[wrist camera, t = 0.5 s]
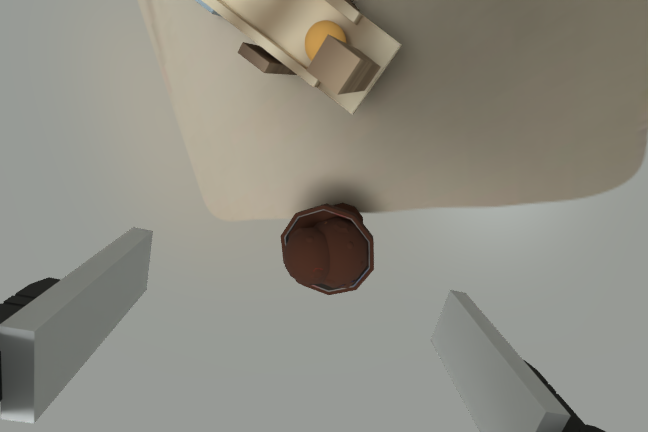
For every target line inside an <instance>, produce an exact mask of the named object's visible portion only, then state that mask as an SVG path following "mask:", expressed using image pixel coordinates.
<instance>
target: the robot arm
mask: <svg viewBox="0 0 648 432" xmlns="http://www.w3.org/2000/svg"><path fill="white" fill-rule="evenodd" d="M152 233H153V231H150V230H145V229H140V228H135V227H133V228H131V229H130V230H129V231H127V232H126V233H125V234H123V235H122V236H121V237H119V238H118V239H116V240H115V241H114V242H112V243H111V244H110V245H108V246H107V247H105V248H104V249H103V250H101V251H100V252H99V253H97V254H96V255H94V256H93V257H92V258H90V259H89V260H88V261H86V262H85V263H83V264H82V265H81V266H79V267H78V268H77V269H75V270H74V271H72V272H71V273H70V274H68V275H67V276H66V277H64V278H63V279H62V280H60V279H54V278H46V279H43V280H41V281H38V282H35V283H32V284H30V285H28V286H27V287H25V288H24V289H22V290H20V291H19V292H17V293H16V294H15V296H11V297H10V298H8V299H7V300H5V301H4V303H3V304H0V402H1V419H4V420H12V421H20V422H27V423H35V422H36V421H37V419H38V418H39V417H40V416H41V415H42V413H43V412H44V411H45V410H46V409H47V407H48V406H49V405H50V403H52V401H53V400H54V399H55V398H56V397H57V396H58V394H59V393H60V392H61V391H62V390H63V388H64V387H65V386H66V385H67V383H68V382H69V381H70V380H71V379H72V378H73V377H74V375H75V374H76V373H77V372H78V371H79V369H80V368H81V367H82V366H83V365H84V363H85V362H86V361H87V360H88V359H89V357H90V356H91V355H92V354H93V353H94V352H95V350H96V349H97V348H98V347H99V346H100V344H101V343H102V342H103V341H104V340H105V338H106V337H107V336H108V335H109V334H110V332H111V331H112V330H113V329H114V328H115V327H116V325H117V324H118V323H119V322H120V321H121V319H122V318H123V317H124V316H125V315H126V313H127V312H128V311H129V310H130V308H131V307H132V306H133V305H134V304H135V303H136V302H137V300H138V299H139V298H140V297H141V296H142V294H143V293H144V292H145V291H146V289H147V280H148V270H149V261H150V251H151V242H152ZM431 342H432V344H433V345H434V347H435V349H436V351H437V353H438V355H439V357H440V359H441V360H442V362H443V364H444V366H445V368H446V370H447V372H448V373H449V375H450V377H451V379H452V381H453V383H454V384H455V386H456V388H457V390H458V392H459V394H460V396H461V398H462V399H463V401H464V403H465V405H466V407H467V409H468V411H469V412H470V414H471V416H472V418H473V420H474V422H475V424H476V425H477V427H478V429H479V431H480V432H605V431H603V430H601V429H599V428H597V427H595V426H590V425H585V424H584V423H583V422H582V421H581V419H580V418H579V417H578V416H577V415H576V414H575V413H574V411H573V410H572V409H571V408H570V407H569V406H568V405H567V404H566V402H565V401H564V400H563V399H562V398H561V397H560V396H559V394H556V391H555V390H554V389H553V388H552V386H551V385H550V384H548V382H547V381H546V380H545V378H544V377H543V376H542V375H541V374H540V373H539V372H538V371H537V370H536V369H535V368H533V367H532V366H531V365H530V364H529V363H527V362H526V361H525V360H523V359H522V358H521V357H520V356H519V355H518V353H517V352H516V351H515V350H514V349H513V348H512V346H511V345H510V344H509V343H508V342H507V341H506V339H505V338H504V337H502V335H501V334H500V332H499V331H498V330H497V329H496V328H495V327H494V326H493V324H492V323H491V322H490V321H489V320H488V319H487V317H486V316H485V315H484V314H483V313H482V311H481V310H480V309H479V308H478V307H477V306H476V304H475V303H474V302H473V301H472V300H471V299H470V298H469V296H468V295H467V294H466V293H463V292H458V291H453V290H450V292H449V294H448V297H447V299H446V302H445V305H444V307H443V310H442V312H441V315H440V317H439V320H438V322H437V325H436V327H435V330H434V333H433V335H432V338H431Z"/></svg>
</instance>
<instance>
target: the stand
mask: <svg viewBox="0 0 648 432" xmlns="http://www.w3.org/2000/svg"><path fill="white" fill-rule="evenodd" d="M344 1H346V2H347V3H348V4H349V5H351V6H352V7H353V8H355V9H356V10H357V11H358V12H359V10H358V9H357V8H356V6H355V5H354V4H353V3H352V2H351V1H350V0H344ZM238 53H239V54H240V55H242V56H243V57H244V58H245V59H247V60H248V61H249V62H251V63H252V64H253V65H254V66H256V67H257V68H258V69H260V70H261V71H262V72H264V73H273V74H290V75H297V74H296V73H294V72H293V71H292V70H291V69H289V68H288V67H287V66H285V65H284V64H283V63H282V62H280V61H279V60H278V59H276V58H275V57H274V56H273V55H271V54H270V53H269V52H267V51H266V50H265V49H264V48H262V47H261V46H257V45H253V44H248V43H244V42H243V43H242V45H241V47H240V49H239V51H238Z"/></svg>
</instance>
